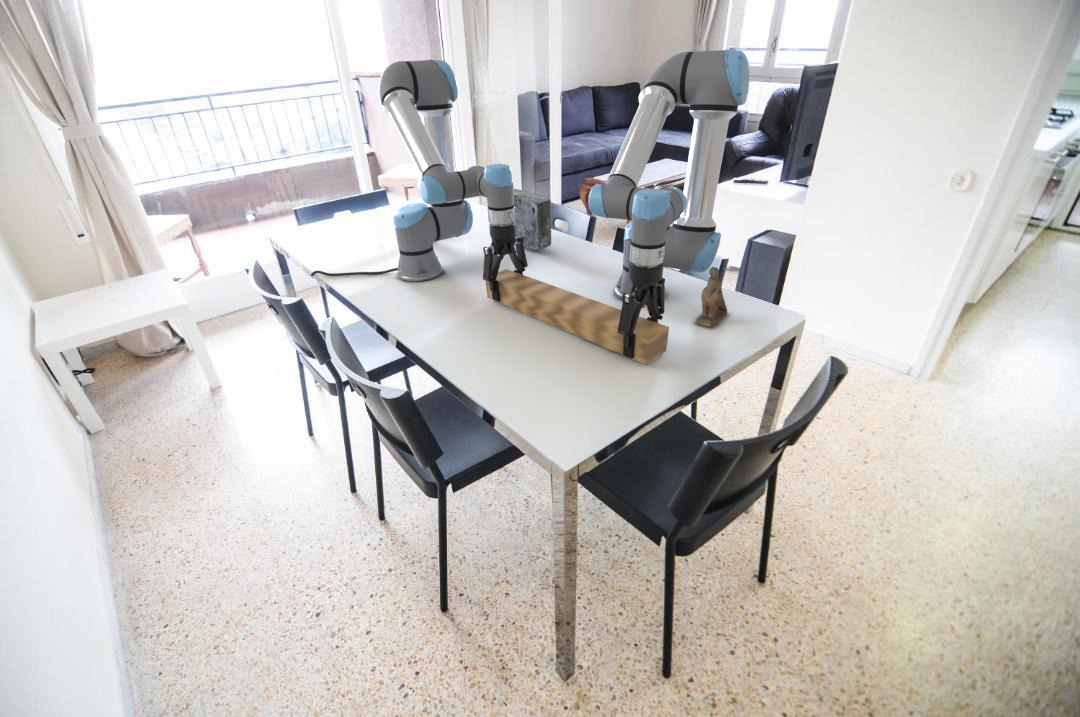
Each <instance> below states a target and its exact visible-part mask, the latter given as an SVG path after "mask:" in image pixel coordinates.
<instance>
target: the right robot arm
mask: <svg viewBox="0 0 1080 717" xmlns="http://www.w3.org/2000/svg"><path fill="white" fill-rule="evenodd" d="M749 87H750V61H749V58H748V55H747V53H746V52H745V51H743V50H735V49H721V50H720V49H719V50H702V51H701V50H700V51H683V52H679V53H676V54H674V55H672V56H670V57H668V58H667V59H666V60H665V61H663V62H662V63H661V64H660V65H659V66H657V68H655V69H654V71H653V72H652V73H651V74H650V75H649V77H648V78H647V79H646V81H645V82H644V84H643V86H642V89H641V90H640V92H639V94H638V104H639V105H638V107H637V110H636V112H635V114H634V116H633V119H632V121H631V124H630V126H629V128H628V131H627V133H626V135H625V138H624V139H623V142H622V144H621V147H620V149H619V151H618V153H617V155H616V159H615V160H614V163H613V165H612V168H611V169H610V172H609V174H608V177H607V179H606V181H605V183H595V184H594V185H593V186H592V187H591V189H590V191H589V195H588V202H587V203H588V209H589V211H590V213H591V214H592V215H593V216H596V217H600V218H605V219H617V220H625V221H629V222H628V223H627V224H626V225H625V228H624V236H623V254H622V270H621V273H620V275H619V277H618V280H617V283H616V286H615V291H614V292H615V296H616V298H618V299H619V300H621V301H622V304H621V309H620V310H621V315H620V320H619V326H618V333H619V334H622V335H624V336H623V355H622V356H624V357H627V358H629V359H631V360H634V359H633V358H634V349H635V335H636V334H634V330H635V327H636V324H637V321H638V318H639V316H640V314H641V311H642V309H643V308H645V305H646V308H647V313H648V317H646V319H648V320H651V321H654V322H657V323H659V321H662V320H663V318H664V316H663V315H665V310H666V309H665V297H666V285H665V283H666V278H664V276H663V273H664V268H667V269H674V270H675V269H676V270H680V271H687V272H689V273H693V272H694V273H705V272H707V271H709V270H710V269H709V268H711V266H712V264H713V262H714V260H715V258H716V256H717V253H718V250H719V246H720V244H721V237H722V234H721V232H720V231H718V230H716V229H717V223H716V222H715V220H714V218H713V213H714V207H715V201H716V196H717V191H718V187H719V186H718V185H719V179H720V174H721V168H722V163H723V158H724V152H725V146H726V140H727V134H728V129H729V123H730V121H731V119H733V117H735V116H736V115H737V114H738V109H739V107H740V106H743V105H745V104H746V102H747V98H748V94H749ZM678 105H689V109H688V110H689V111H688V112H689V114H690V115H691V117H692V118H693V125H692V131H691V138H690V143H689V150H688V158H687V164H686V172H685V176H684V185H683V190H682V189H681V188H679V187H676V186H667V187H663V188H662V189H660V188H648V187H647V188H645V187H638V185H639V183H640V181H641V178H642V176H643V174H644V171H645V169H646V167H647V164H648V161H649V160H650V157H651V155H652V152H653V150H654V148H655V146H656V143H657V140H658V139H659V136H660V134H661V131H662V129H663V127H664V125H665V122H666V119H667V117H668V116H670V115H671V114H672V113H673V112H674V110H675V109H676V107H677V106H678Z"/></svg>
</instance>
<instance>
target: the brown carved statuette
mask: <svg viewBox="0 0 1080 717" xmlns="http://www.w3.org/2000/svg"><path fill="white" fill-rule="evenodd" d="M708 273H709V275H710V276H709V278H708V279H707V280H708V281H707V284H706V286H705V287H704V288H703V290H702V292H701V297H700V298H701V309H702V312H701V315H700V316H699V317H698V318H697V319H696V321H695V324H696V325H699V326H703V327H705V328H712V327H714V326H715V325H716V324H717V323H719V321H721V320H722V319H723V318H725V317H726V316H727V315H728V307H727V304H726V301H725V298H724V293H723V290H722V287H723V281H722V279H721V278H720V270H719V269H718V268H717V267H715V266H712V267H710V269H708Z"/></svg>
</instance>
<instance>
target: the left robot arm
mask: <svg viewBox="0 0 1080 717" xmlns="http://www.w3.org/2000/svg"><path fill="white" fill-rule="evenodd" d="M377 94H378V100H379V103H380V105H381V107H382V108H381V109H383V111H384V113H385V115H387V116H388V117H389V118H391V119H392V121H393V123H394V125H395V127H396V129H397V131H398V133H399V135H400V137H401V139H402V141H403V143H404V145H405V147H406V149H407V151H408V153H409V155H410V157H411V160H412V161H413V163H414V165H415V167H416V169H417V171H418V173H419V175H420V178H419V180H418V191H419V193H420V197H421V200H422V201H423V203H422V202H417V203H410V204H406V205H403V206H401V207H399V208H397V209H396V210H395V211H394V213H393V215H392V219H393V228H394V230H395V231H394V232H395V236H396V241H397V247H398V251H399V259H398V265H397V267H395V268H391V269H387V270H381V271H356V272H355V271H352V272H351V271H350V272H338V273H337V272H336V273H335V272H334V273H331V272H326V271H322V270H314V271H312V272H311V274H310V276H311V277H314V276H315V275H316V274H320V275H323V276H328V277H343V276H344V277H345V276H357V275H358V276H360V275H363V276H364V275H365V276H366V275H368V276H369V275H384V274H389V273H391V272H397V276H398V278H399V279H400V280H402V281H406V282H413V283H414V282H425V281H429V280H432V279H435V278H438V277H439V276H440V275H441V274H442V273H443V268H442V264H441V263H440V260H439V257H438V255H437V254H436V252H435V250H434V243H435V242H438V241H443V240H448V239H453V238H459V237H461V236H465V235H467V234H468V233H469V232H470V231H471V230H472V228H473V223H474V214H473V209H472V206H471V204H470V202H469V201H468V200H467V199H471V198H478V197H483V198H485V199H486V203H487V204H486V205H487V215H488V223H489V224H488V225H489V227H488V228H489V236H490V238H491V243H490V245H489V246H484V247H483V248H482V250H483V256H484V257H483V268H482V269H483V273H482V280H483V281H485V282H486V281H488V282H489V286H490V291H492V299H493V300H492V299H491V300H492V301H494V300H495V301H494V302H497V303H499V301H500V294H499V282H498V281H497V280H496V279H497V275H498V272H500V267H501V264H502V260H503V259H504V256H506V255H508V257H509V258H510V261H511V262H512V265H513V267H514V268H515V269H514V270H513V272H516V273H519V274H522V275H524V272H525V271H526V268H528V266H529V264H528V261H527V255H526V251H525V248H524V246H523V240H524V239H523V237H520V236H516V237H515V235H516V224H515V223H514V221H515V208H514V189H515V188H514V177H513V169H512V166H510V165H509V164H506V163H504V164H503V163H493V164H489V165H486V166H482V165H472V166H470V167H468V168H467V169H464V170H457V168H456V167H457V166H456V159H455V151H454V144H453V136H452V128H451V121H450V120H451V119H450V114H451V112H452V111H453V109H454V107H453V106H454V105H453V103H455V102H456V101H457V100H458V94H459V87H458V82H457V78H456V75H455V73H454V71H453V68H452V66H450V64H449V63H448V62H446V61H445V60H442V59H432V58H431V59H424V60H423V59H422V60H421V59H420V60H405V61H404V60H398V61H395V62H393V63H391V64H389V65H388V66H386V68H385V69H384V71H382V73H381V76H380V78H379V81H378V87H377ZM428 205H429V206H428ZM492 276H493V277H492Z"/></svg>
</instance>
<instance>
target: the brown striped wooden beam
mask: <svg viewBox="0 0 1080 717" xmlns="http://www.w3.org/2000/svg"><path fill="white" fill-rule="evenodd" d="M492 277H493V276H492ZM496 280H497V281H498V282H499V294H500V301H499V302H498V303H500V304H501V305H504V306H506V307H508V308H511V309H513V310H516V311H518V312H520V313H523V314H525V315H526V316H530V317H532V318H535V319H537V320H539V321H542V322H544V323H546V324H548V325H550V326H554V327H556V328H558V329H560V330H563V331H565V332H567V333H570V334H572V335H575V336H577V337H580V338H582V339H584V340H587V341H589V342H592V343H594V344H596V345H599V346H601V347H603V348H606V349H608V350H610V351H612V352H615V353H618V354H619V355H621V356H624V355H623V336H624V335H622V334H619V333H618V326H619V320H620V315H621V309H620V308H617V307H614V306H611V305H608V304H606V303H604V302H600V301H597V300H595V299H592V298H589V297H586V296H583V295H580V294H578V293H575V292H572V291H569V290H566V289H563V288H561V287H557V286H555V285H553V284H549V283H547V282H544V281H542V280H538V279H535V278H532V277H530V276H527V275H524V274H523V275H522V274H519V273H516V272H514V270H510V269H507V268H505V269H502V270H499V271H498V275H497V279H496ZM485 287H486V297H487V299H490V300H492V301H494V302H496V301H495V300H493V299H492V291H490V286H489V282H488V281H485ZM669 331H670V326H668V325H665V324H662V323H660V322H658V323H657V322H654V321H651V320H648V319H647V318H645V317H642V316H640V315H639V318H638V321H637V324H636V327H635V330H634V334H636V335H635V349H634V358H633V359H632V360H634V361H636V362H638V363H641V364H643V365H646V366H647V365H649V364H650V363H651V362H653V361H655V360H656V359H658V357H660V356H662V355H663V354H665V353H666V352H667V349H668V341H669V340H668V339H669Z"/></svg>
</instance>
